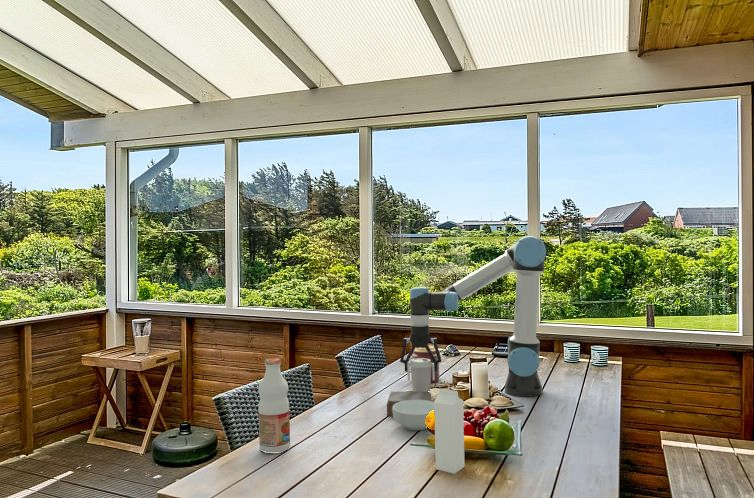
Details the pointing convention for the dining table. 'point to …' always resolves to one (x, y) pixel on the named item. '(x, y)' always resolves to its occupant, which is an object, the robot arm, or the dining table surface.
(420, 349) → the canister
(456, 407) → the milk
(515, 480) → the dining table surface
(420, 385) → the coffee cup
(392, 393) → the grey flat block
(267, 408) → the fruit juice
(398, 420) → the cereal bowl
